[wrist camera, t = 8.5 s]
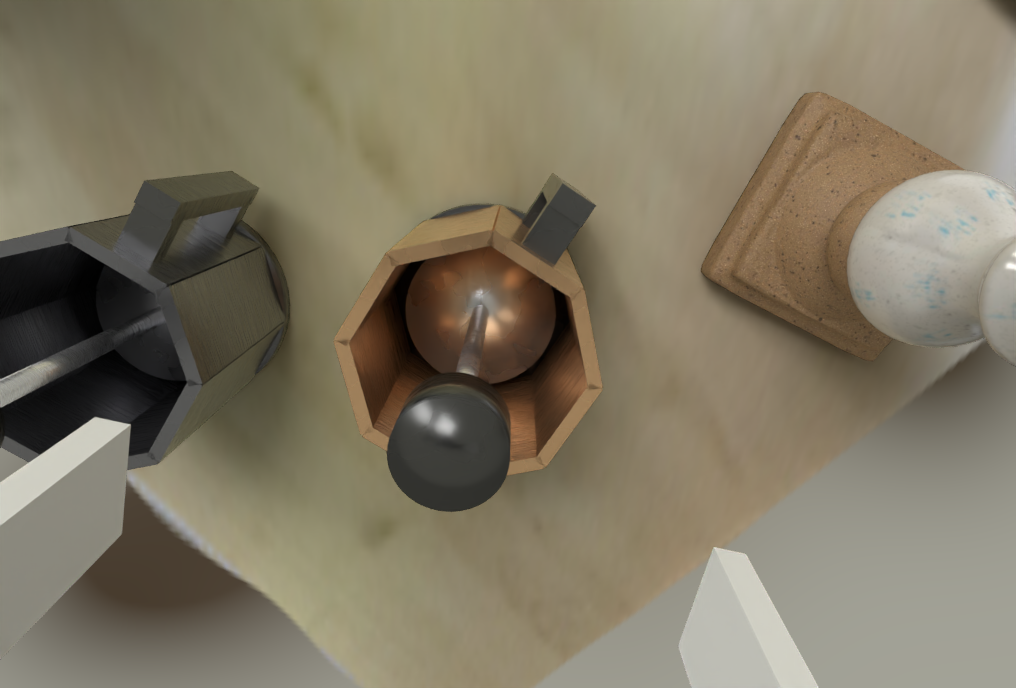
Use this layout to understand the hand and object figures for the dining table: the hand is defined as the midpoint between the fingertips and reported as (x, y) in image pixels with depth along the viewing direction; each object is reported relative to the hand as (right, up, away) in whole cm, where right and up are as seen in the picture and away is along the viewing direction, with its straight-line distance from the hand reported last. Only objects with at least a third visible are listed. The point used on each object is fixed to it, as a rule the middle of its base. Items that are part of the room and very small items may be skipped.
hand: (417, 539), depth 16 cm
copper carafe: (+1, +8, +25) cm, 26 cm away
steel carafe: (-15, +8, +25) cm, 30 cm away
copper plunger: (+1, +6, +23) cm, 24 cm away
